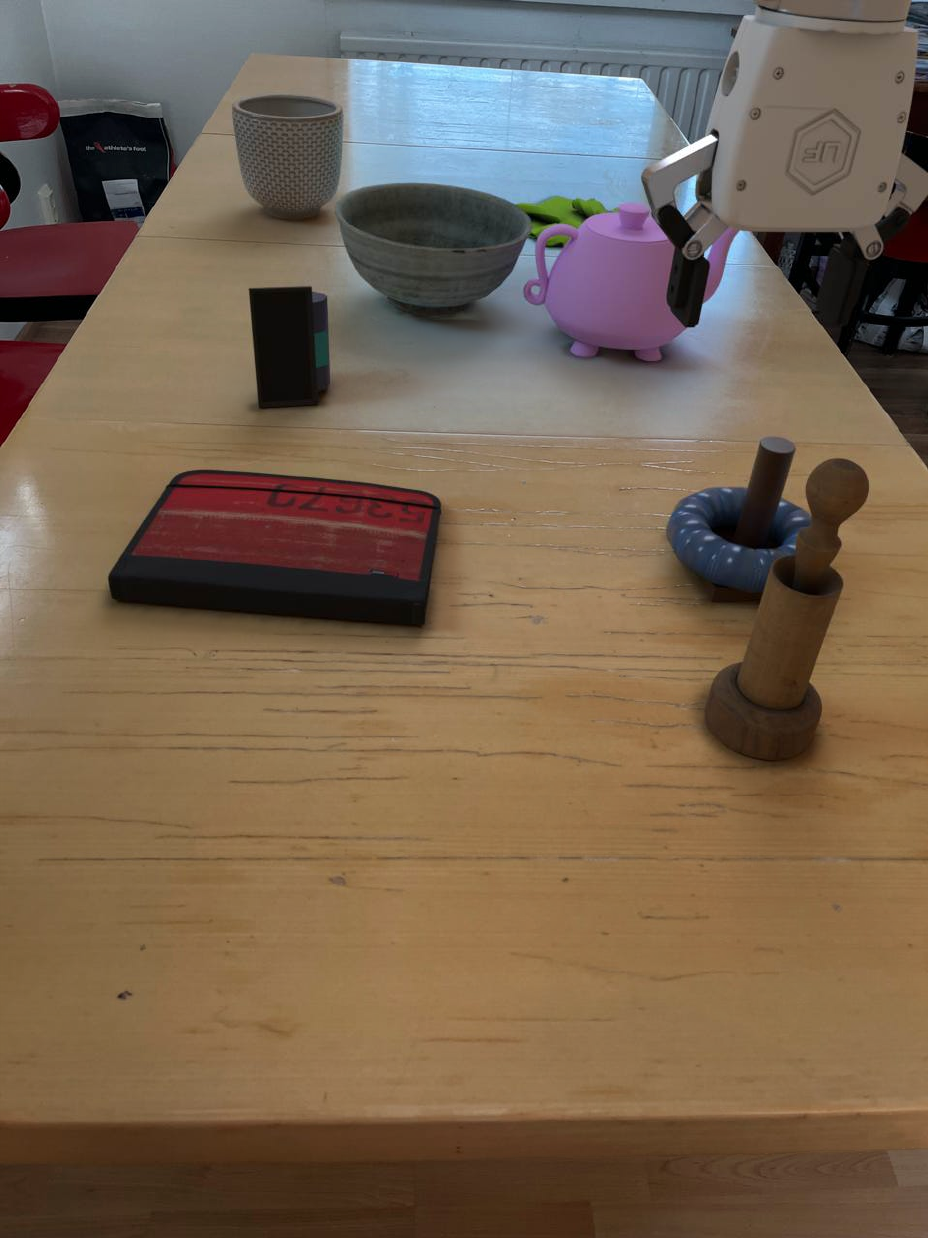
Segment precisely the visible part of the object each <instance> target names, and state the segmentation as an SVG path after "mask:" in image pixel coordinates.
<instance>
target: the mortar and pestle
mask: <svg viewBox="0 0 928 1238" xmlns="http://www.w3.org/2000/svg"><path fill="white" fill-rule="evenodd" d="M804 489H805V490H804V491H805V497H806V501H807V505H808V508H809V511H810V515H811V517H812V518H811V524H810V526H809V527H808V528H804V529H802V530H800V531H799V532H798V534H797V539H796V555H788V556H783V557H780V558H778V559H776V560H775V561H774V562H773V563H772V565H771V568H770V571H769V575H768V578H767V581H766V585H765V588H764V592H763V595H762V598H761V599H760V602H759V606H758V609H757V612H756V616H755V619H754V621H753V622H754V623H753V625H752V628H751V632H750V635H749V639H748V642H747V646H746V647H745V648H746V649H745V652H744V655H743V659H742V661H737V662H735V663H732V664H729V665H727V666H725V667H723V668H722V669H721V670H720V671H718V673H716V675H715V676H714V678H713V679H712V682H711V686H710V689H709V692H708V696H707V699H706V702H705V703H706V704H705V706H704V719H705V722H706V725H707V727H708V729H709V731H710V732H711V733H712V734H713V736H714V737H715V738H716V739H717V740H718V741H720V742H721V743H722V744H723V745H724V746H726V747H727V748H729V749H731V750H733V751H735V752H737V753H739V754H742V755H745V756H748V757H751V758H754V759H759V760H765V761H780V760H787V759H790V758H793V757H796V756H798V755H799V754H801V753H802V752H804V751H805V750H807V748H808V747H809V746H810V745H811V743H812V741H813V739H814V737H815V734H816V731H817V727H818V725H819V722H820V721H821V720H820V719H821V716H822V712H823V703H822V698H821V696H820V694H819V692H818V690H817V689H816V688H815V686H814V685H813V684H812V683H811V682H810V681H811V678H812V674H813V673H814V669H815V667H816V663H817V660H818V657H819V654H820V651H821V649H822V646H823V643H824V640H825V637H826V635H827V632H828V629H829V627H830V623H831V620H832V618H833V615H834V612H835V610H836V607H837V604H838V602H839V599H840V598H841V595H842V591H843V588H844V580H843V577H842V575H841V574H840V573H839V572H838V571H837V570H836V569H835V568H833V567H832V566H830V565H831V564H832V563H833V562H834V560H835V559H836V557H837V555H838V554H839V552H840V550H841V548H842V545H843V543H842V540H841V538H840V536H839V530H840V527H841V525H842V524H843V523H845V522H846V521H847V520H848V519H849V518H851V517H852V516H853V515H855V514H856V513H857V512H858V511H859V510H860V509H861V508H863V506H864V505H865V503H866V502H867V500H868V496H869V492H870V481H869V477H868V475H867V473H866V470H865V469H864V468H863V467H861V465H859V464H858V463H856V462H854V461H852V460H850V459H848V458H842V457H834V458H828V459H826V460H824V461H822V462H820V463H819V464H818V465H816V466H815V468H813V470H812V471H811V472H810V473H809V476H808V478H807V480H806V483H805V488H804Z"/></svg>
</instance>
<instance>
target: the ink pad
mask: <svg viewBox="0 0 928 1238" xmlns="http://www.w3.org/2000/svg"><path fill="white" fill-rule="evenodd" d="M441 515H442V502H441V500H440V498H439V497H438V496H436V495H434V494H433V493H431V492H427V491H424V490H421V489H413V488H406V487H400V486H393V485H386V484H378V483H373V482H364V481H355V480H347V479H346V480H345V479H334V478H324V477H314V476H301V475H299V476H298V475H288V474H278V473H277V474H276V473H268V472H267V473H266V472H265V473H264V472H253V471H239V470H237V471H236V470H221V469H192V470H187V471H183V472H180V473H178V474H176V475H175V476H173V477H172V479H171V480H169V483H168V484H167V485H166V486H165V489H164V490H163V491H162V493H161V495H160V496H159V497H158V499H157V501H156V502H155V504H154V505H153V506H152V508H151V509H150V511H149V513H148V514H147V515H146V516H145V518H144V519H143V521H142V522H141V524H140V526H139V527H138V528H137V530H136V531H135V533H134V535H133V536H132V538H131V539H130V541H129V542H128V544H127V545H126V547H125V548H124V550H123V551H122V553H121V554H120V556H119V557H118V559H117V561H116V562H115V564H114V565H113V567H112V568H111V570H110V572H109V574H108V576H107V581H108V582H107V583H108V587H109V592H110V596H111V599H113V600H115V601H127V602H128V601H129V602H136V603H148V604H157V605H169V606H177V607H178V606H179V607H190V608H191V607H192V608H200V609H201V608H202V609H215V610H227V611H240V612H251V613H252V612H253V613H265V614H277V615H287V616H288V615H290V616H299V617H300V616H301V617H314V618H325V619H337V620H338V619H339V620H351V621H361V622H362V621H363V622H376V623H387V624H388V623H389V624H400V625H401V624H402V625H412V626H413V625H414V626H419V627H420V626H424V625H425V624H426V612H427V607H428V602H429V601H428V600H429V593H430V589H431V588H430V586H431V580H432V574H433V567H434V560H435V552H436V545H437V539H438V531H439V522H440V516H441Z"/></svg>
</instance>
